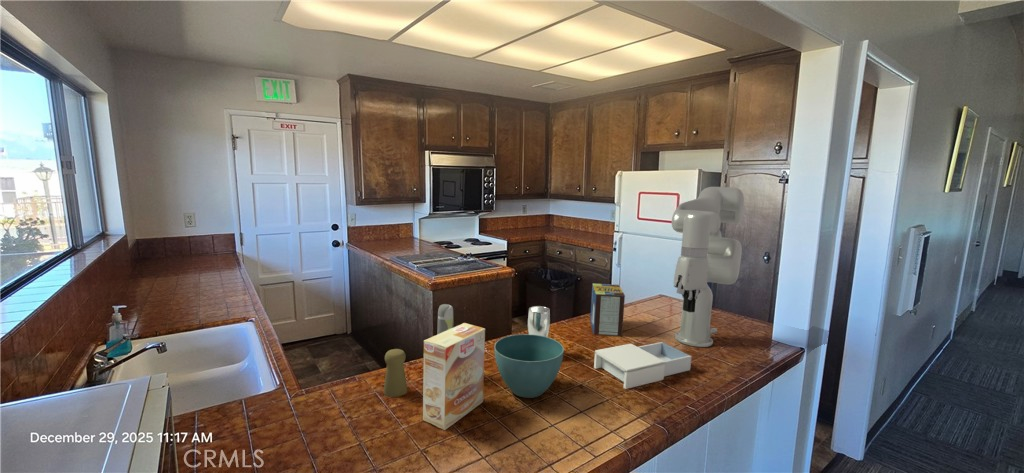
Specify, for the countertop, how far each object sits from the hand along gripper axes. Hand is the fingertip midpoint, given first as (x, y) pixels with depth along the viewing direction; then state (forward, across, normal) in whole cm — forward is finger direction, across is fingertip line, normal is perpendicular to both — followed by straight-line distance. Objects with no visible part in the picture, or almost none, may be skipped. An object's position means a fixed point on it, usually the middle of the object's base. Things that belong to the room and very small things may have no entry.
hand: (688, 310), depth 133 cm
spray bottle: (+17, +72, -21) cm, 77 cm away
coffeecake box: (+18, +76, -1) cm, 78 cm away
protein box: (+17, +4, -33) cm, 37 cm away
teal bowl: (+17, +54, -3) cm, 57 cm away
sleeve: (+17, +22, 0) cm, 28 cm away
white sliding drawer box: (+17, +16, 0) cm, 23 cm away
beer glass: (+17, +40, -22) cm, 49 cm away
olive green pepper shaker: (+18, +86, -16) cm, 90 cm away
